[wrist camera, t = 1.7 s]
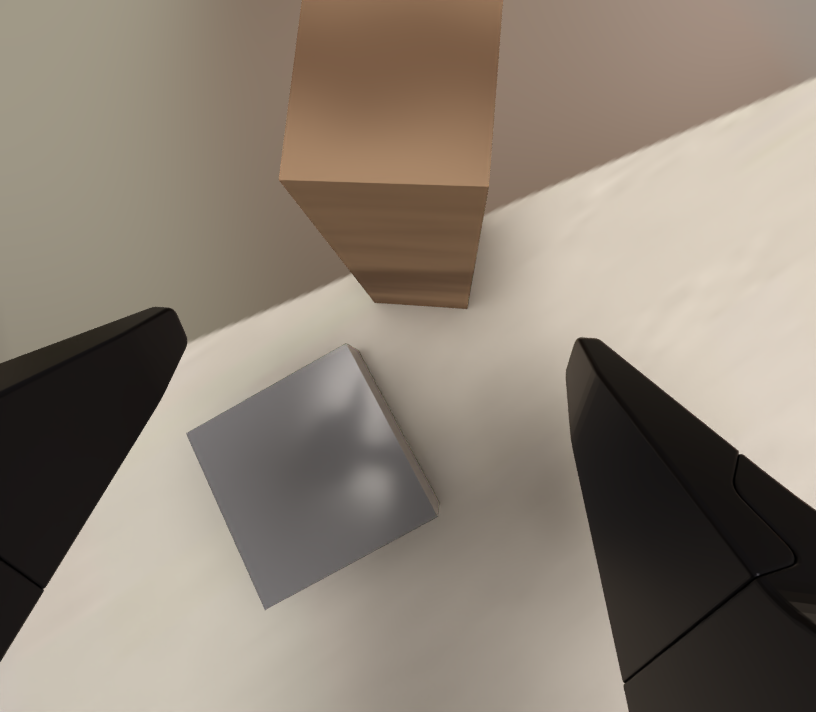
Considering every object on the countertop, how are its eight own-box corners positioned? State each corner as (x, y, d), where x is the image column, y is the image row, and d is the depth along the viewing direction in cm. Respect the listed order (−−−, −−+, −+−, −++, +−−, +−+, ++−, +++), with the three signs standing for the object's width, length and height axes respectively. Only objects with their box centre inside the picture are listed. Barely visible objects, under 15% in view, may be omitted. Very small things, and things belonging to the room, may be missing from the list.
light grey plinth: (439, 502, 21) (437, 516, 18) (286, 585, 21) (264, 610, 18) (357, 349, 22) (346, 343, 19) (215, 429, 22) (186, 433, 20)
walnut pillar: (466, 308, 22) (488, 186, 9) (374, 302, 22) (279, 180, 10) (474, 218, 22) (504, -12, 10) (383, 215, 23) (302, -9, 10)
